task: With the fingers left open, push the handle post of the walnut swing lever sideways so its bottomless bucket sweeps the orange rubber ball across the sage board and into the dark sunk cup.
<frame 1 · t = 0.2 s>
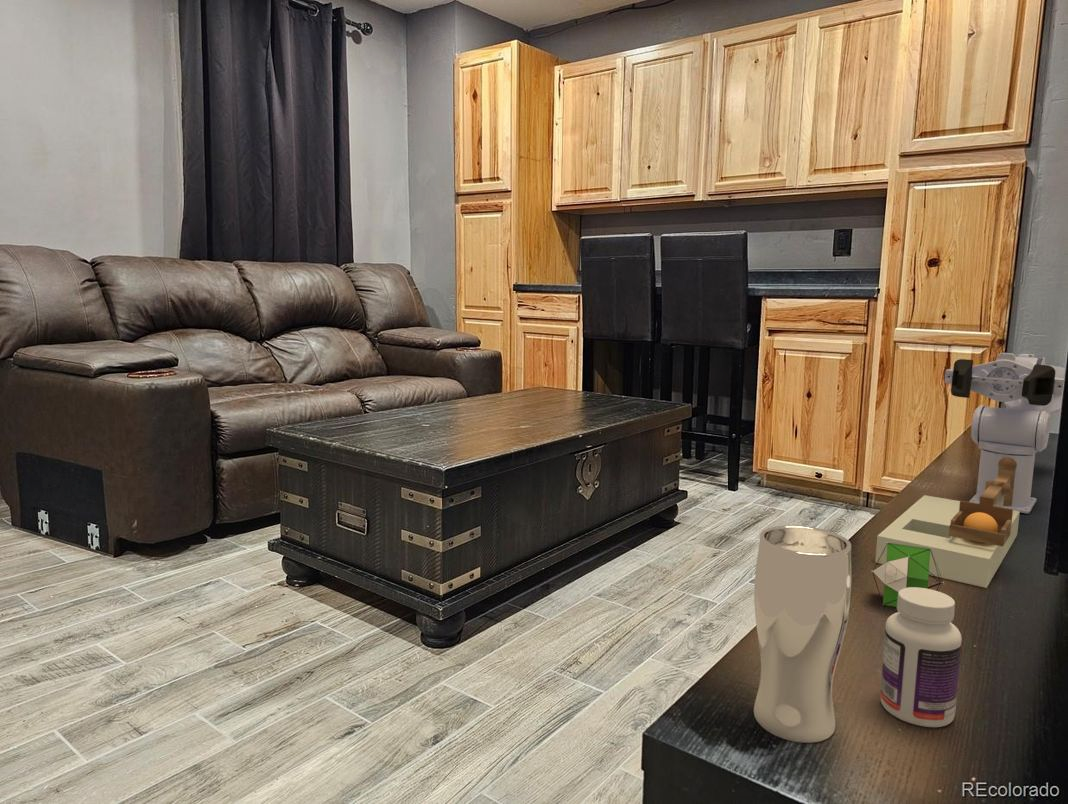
hand: (991, 385, 97), 21 cm above the table, tool horizontal, fingers open, 7 cm apart
geometric puzzle: (903, 606, 78), on the table
deck: (950, 548, 95), on the table
pill bottle: (915, 711, 58), on the table
lever: (993, 495, 93), point 8 cm above the table, hinge at 0.0°
beer glass: (793, 722, 57), on the table
ball: (980, 527, 87), point 5 cm above the table, touching deck
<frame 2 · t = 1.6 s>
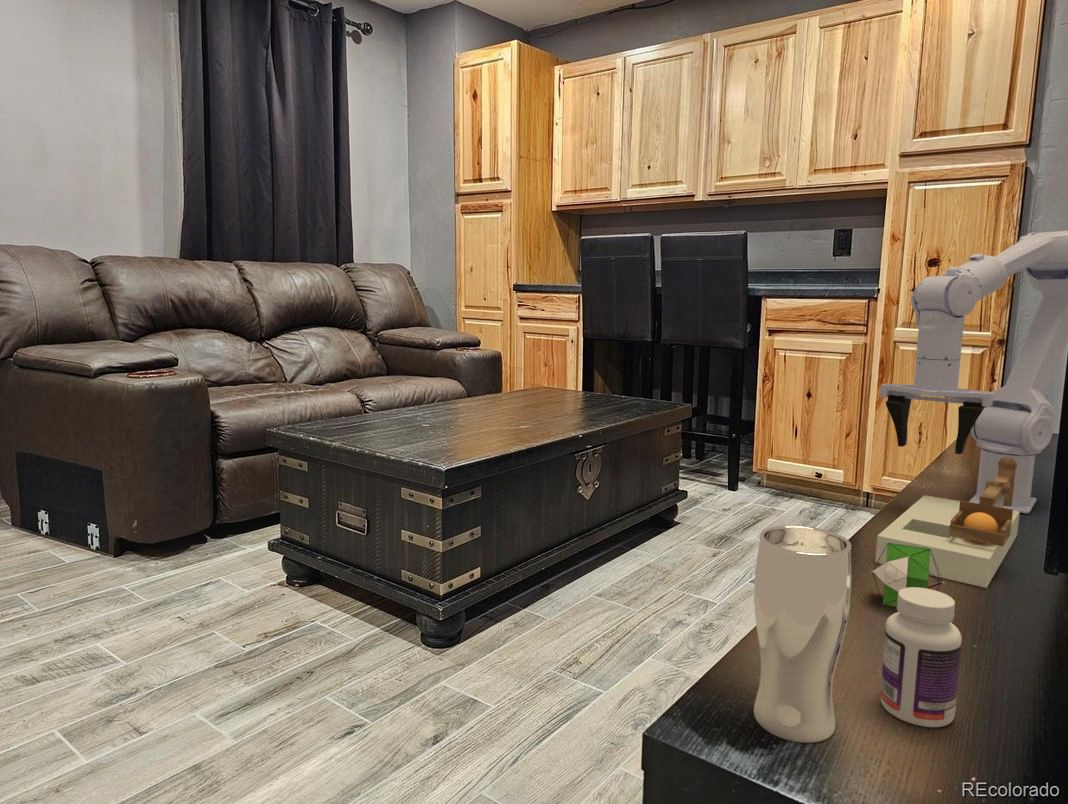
hand: (929, 449, 107), 10 cm above the table, tool pointing down, fingers open, 7 cm apart
nothing on the table moved.
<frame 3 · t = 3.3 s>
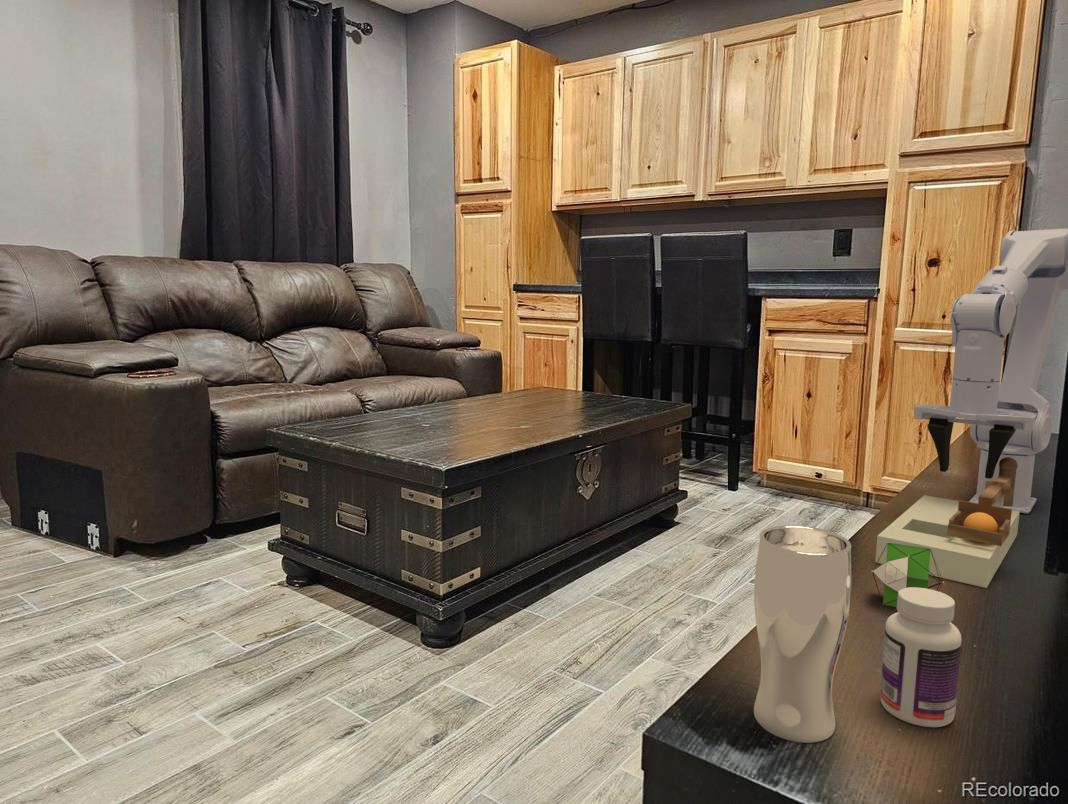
hand: (966, 473, 102), 8 cm above the table, tool pointing down, fingers open, 5 cm apart
lever: (993, 495, 93), point 8 cm above the table, hinge at 0.8°, touching gripper
everything else where it was.
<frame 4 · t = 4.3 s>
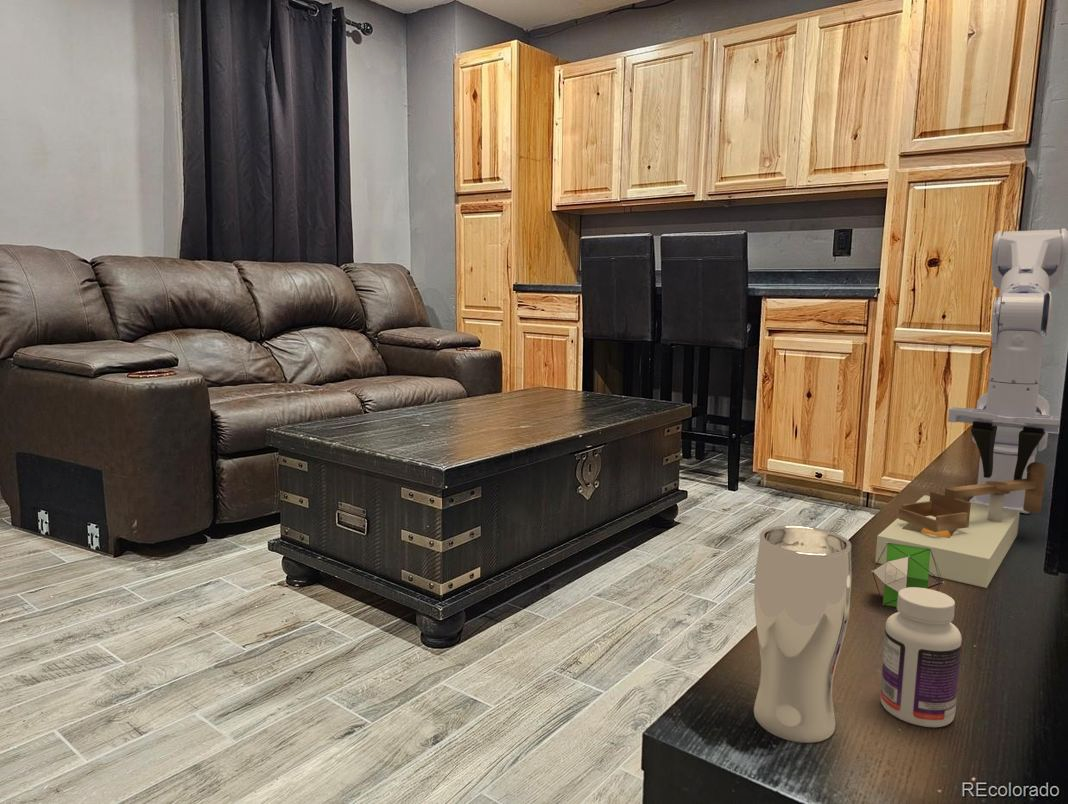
hand: (1003, 478, 99), 8 cm above the table, tool pointing down, fingers open, 3 cm apart
lever: (981, 493, 94), point 8 cm above the table, hinge at 29.6°, touching gripper
ball: (935, 538, 93), point 2 cm above the table, tilted 120°, touching deck
everything else where it was.
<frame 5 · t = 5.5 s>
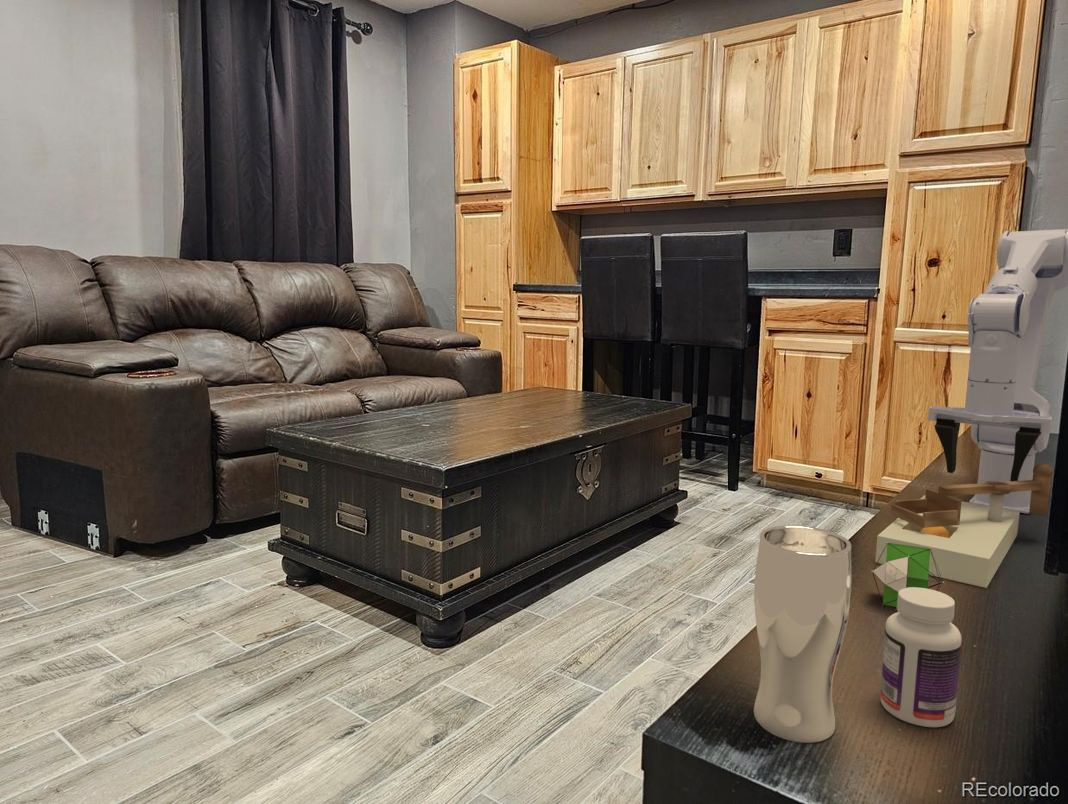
hand: (981, 476, 101), 8 cm above the table, tool pointing down, fingers open, 7 cm apart
lever: (979, 492, 94), point 8 cm above the table, hinge at 36.8°
ball: (935, 538, 93), point 2 cm above the table, tilted 125°, touching deck
everything else where it was.
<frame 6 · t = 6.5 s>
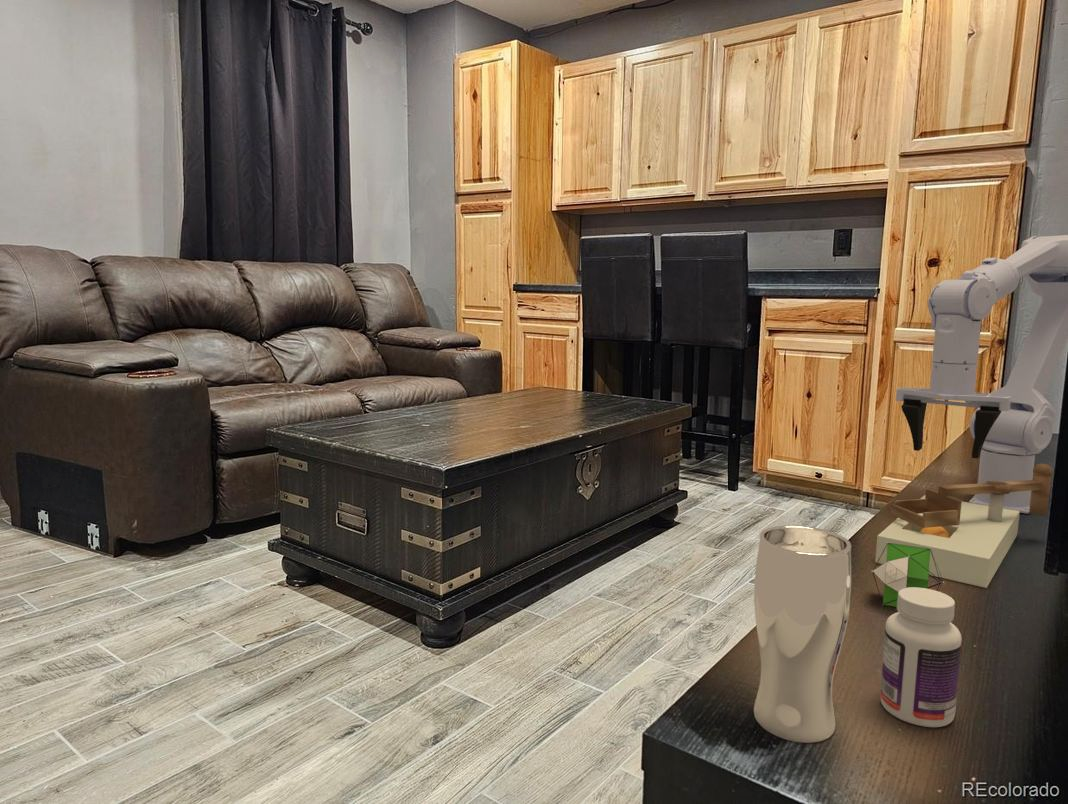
hand: (946, 453, 107), 10 cm above the table, tool pointing down, fingers open, 7 cm apart
ball: (934, 539, 92), point 2 cm above the table, tilted 133°, touching deck
everything else where it was.
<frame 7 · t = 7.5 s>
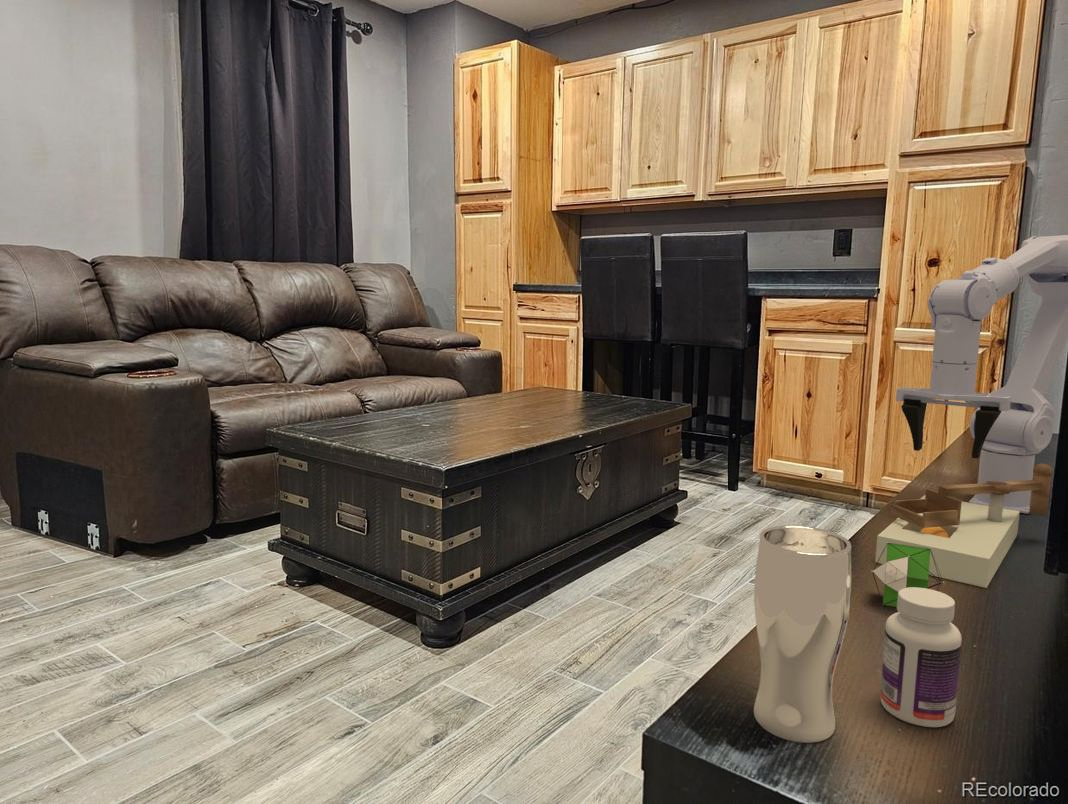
hand: (946, 453, 107), 10 cm above the table, tool pointing down, fingers open, 7 cm apart
ball: (933, 539, 92), point 2 cm above the table, tilted 139°, touching deck
everything else where it was.
at the end: ball 0.6 cm from the target spot on the deck, point 2.1 cm above the deck's base; lever at +37° (first picture: +0°) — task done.
